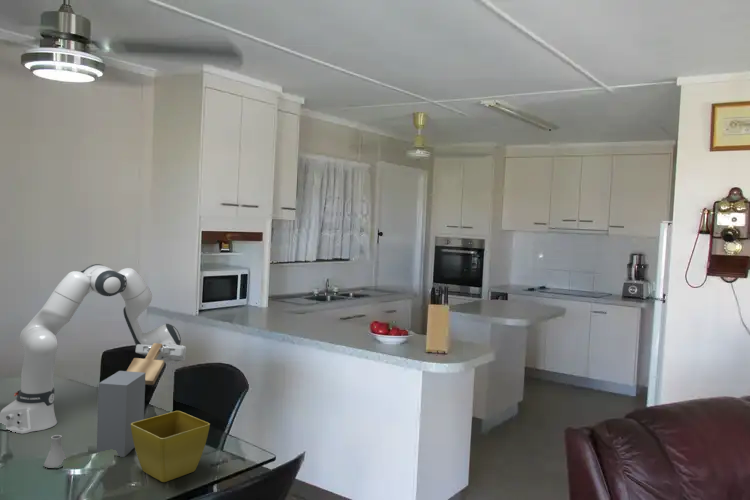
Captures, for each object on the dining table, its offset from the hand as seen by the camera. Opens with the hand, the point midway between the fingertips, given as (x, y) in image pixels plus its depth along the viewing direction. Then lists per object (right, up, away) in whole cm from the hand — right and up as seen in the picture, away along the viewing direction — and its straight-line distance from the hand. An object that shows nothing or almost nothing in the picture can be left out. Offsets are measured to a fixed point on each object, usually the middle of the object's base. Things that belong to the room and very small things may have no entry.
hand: (155, 349), depth 247 cm
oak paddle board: (0, -5, -6) cm, 8 cm away
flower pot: (+20, -35, -43) cm, 59 cm away
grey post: (-3, -32, -26) cm, 41 cm away
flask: (-18, -32, -44) cm, 57 cm away
